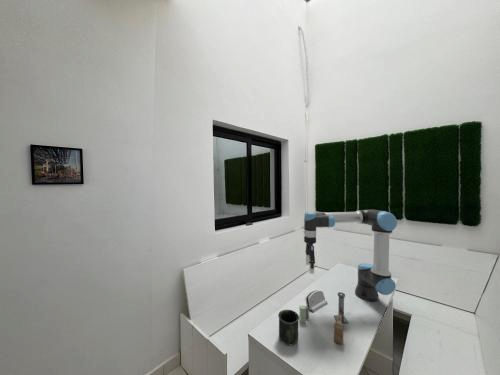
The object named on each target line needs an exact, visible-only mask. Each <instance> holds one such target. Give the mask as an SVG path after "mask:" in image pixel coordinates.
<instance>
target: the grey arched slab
mask: <svg viewBox="0 0 500 375" xmlns="http://www.w3.org/2000/svg"><path fill="white" fill-rule="evenodd" d="M304 298H305V304H306V305H305V306H308V308H309V310H310V311H312V313H316V312H318V311H319V310H320V309H323V307H326V306H327V305H329V304H328V300H327V299H326V296H325V294H324V292H323V291H322V290H312V291H311V292H309V293H308V294H307V295H306V296H305V297H304Z"/></svg>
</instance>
